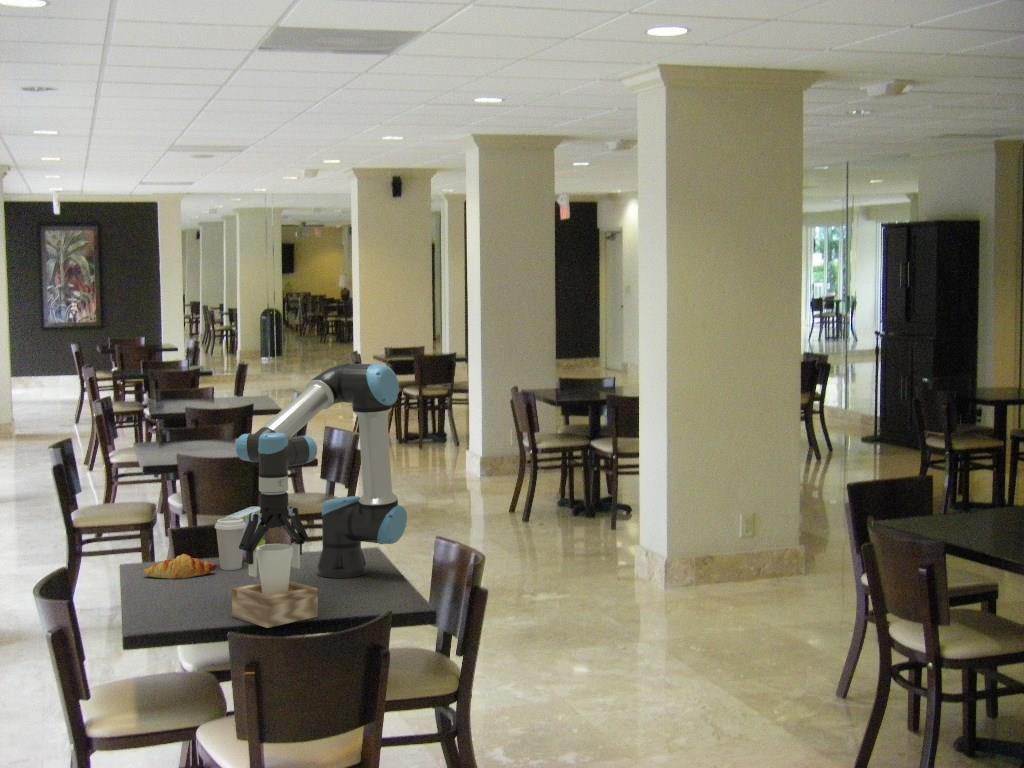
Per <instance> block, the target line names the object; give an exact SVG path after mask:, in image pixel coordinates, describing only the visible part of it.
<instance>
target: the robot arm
mask: <svg viewBox="0 0 1024 768" xmlns="http://www.w3.org/2000/svg"><path fill="white" fill-rule="evenodd" d="M399 385H400V384H399V379H398V377H397V375H396V373H395V371H393V369H392V368H391V367H389V366H388V365H383V364H377V363H340V364H337V365H333V366H331V367H329V368H327V369H326V370H324V371H322V372H320V373H319V374H318V375H316V376H314V378H312V379H311V380H310V381H309V382H308V383H307V384H306V385H305V390H303V391H302V392H301V393H300V394H299V395H298V396H296V397H295V398H294V399H293V400H292V401H291V402H290V403H289V404H288V405H286V406H285V407H284V408H282V409H281V410H280V411H279V412H278V413H277V414H276V415H275V416H273V417H272V418H271V419H270V420H269V421H267V422H266V423H265V424H264V425H263V426H261V427H260V429H258V430H256V432H255V433H249V432H248V433H243V434H241V435H240V436H238V438H237V440H236V444H235V452H236V455H237V456H238V458H239V459H240V460H242V461H246V462H251V463H258V468H259V469H258V491H259V492H260V493H259V494H258V502H259V503H258V505H259V506H258V507H260V513H259V514H255V513H250V515H249V522H248V525H247V527H246V530H245V533H244V535H243V538H242V540H241V543H240V545H239V549H240V550H244V551H246V561H245V563H246V564H247V565H248V576H250V577H252V578H257V577H258V559H257V552H255V551H254V550H255V548H256V547H257V545H258V543H259V542H260V540H261V539H262V537H263V536H264V534H265V535H266V532H268V531H269V529H274V528H281V527H282V529H283V530H284V532H286V534H287V535H288V536H289V537H290V538H291V539H292V541H293V542H291V546H293V556H292V561H291V568H293V569H298V570H299V569H301V556H302V554H303V544H305V541H308V540H309V535H308V532H307V531H306V529H305V527H304V525H303V522H302V519H301V517H300V515H299V510H298V508H297V507H294V506H290V507H289V508H288V506H289V493H288V492H287V491H288V490H289V468H291V467H295V466H300V465H305V464H308V463H311V462H313V461H314V460H315V458H316V457H317V455H318V445H317V443H316V441H315V440H314V439H313V438H312V437H311V436H308V435H298V436H295V434H298V432H299V431H300V430H302V428H304V427H305V426H306V425H307V424H308V423H309V422H311V420H313V419H314V418H315V417H316V416H317V415H318V414H319V413H320V412H321V411H323V410H328V409H330V408H332V406H333V405H335V404H340V403H345V404H347V403H350V404H351V405H352V407H351V408H352V412H353V413H354V414H355V415H356V416H357V418H358V433H359V447H360V448H359V450H360V462H361V463H360V464H361V476H362V477H361V478H362V491H363V492H362V493H363V494H362V495H361V496H357V495H355V496H354V495H353V496H341V497H336V498H330V499H327V500H325V501H324V502H323V504H322V509H321V510H322V511H321V521H322V522H321V523H322V526H321V528H322V531H321V532H322V536H321V537H322V549H321V553H320V557H319V559H318V563H317V565H316V574H317V575H318V576H320V577H323V578H330V579H331V578H333V579H348V578H355V577H361V576H364V575H365V574H367V572H368V565H367V562H366V558H365V556H364V552H363V550H362V549H363V548H362V542H363V543H365V542H366V543H374V544H379V545H393V544H395V543H397V542H399V540H400V539H402V536H403V534H404V532H405V530H406V527H407V523H408V514H407V510H406V509H405V508H404V507H403V506H402V505H399V498H398V496H397V495H396V494H395V493H393V485H392V483H393V482H392V469H391V467H392V466H391V453H390V452H391V451H390V439H389V438H390V437H389V436H390V435H389V423H388V421H389V420H388V419H389V418H388V414H389V413H390V412H391V411H392V409H393V405H394V404H395V403H396V402H397V400H398V398H399V397H398V395H399V393H400V386H399ZM288 516H289V518H290V521H291V522H292V524H293V526H292V525H291V523H290V522H289V520H288ZM260 519H261V522H260V523H259V525H258V528H257V530H256V527H257V524H258V521H260ZM264 525H265V526H264ZM255 530H256V531H255ZM254 532H255V533H254Z"/></svg>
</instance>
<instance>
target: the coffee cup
mask: <svg viewBox="0 0 1024 768" xmlns="http://www.w3.org/2000/svg"><path fill="white" fill-rule="evenodd" d="M245 527H246V524H245V522H244V520H243V519H241V518H225V517H224V518H219V519H217V520H216V523H215V525H214V529H215V530H216V539H217V549H218V558H219V568H220V570H223V571H236V570H240V569H242V566H243V565H242V564H243V562H242V555H243V550H240V549H239V545H240V543H241V540H242V538H243V535H244V529H245Z"/></svg>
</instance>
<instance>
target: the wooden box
mask: <svg viewBox="0 0 1024 768" xmlns="http://www.w3.org/2000/svg"><path fill="white" fill-rule="evenodd" d="M318 591H319V589H318V588H317V587H313V586H311V585H310V586H309V585H306V584H303V583H299V582H295V581H292V580H289V586H288V592H285V593H280V594H275V595H271V596H268V595H265V594H262V587H261V582H260V583H254V584H253V583H252V584H249V585H243V586H238V587H233V588H231V615H232V616H231V617H233V618H236V619H238V620H242V621H245V622H247V623H250V624H254V625H257V626H260V627H263V628H267V629H269V628H275V627H279V626H283V625H286V624H291V623H296V622H299V621H304V620H308V619H312V618H313V619H314V618H318V617H319V595H318V593H319V592H318Z"/></svg>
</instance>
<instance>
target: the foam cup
mask: <svg viewBox="0 0 1024 768" xmlns="http://www.w3.org/2000/svg"><path fill="white" fill-rule="evenodd" d="M256 552H257V567H258V572H259V578H260V583H261V587H262V594H265V595H268V596H271V595H275V594H280V593H285V592H288V586H289V581H290V577H291V570H292V569H291V568H292V556H293V546H292V544H287V543H267V544H265V545H261V546H258V547H257V548H256Z"/></svg>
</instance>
